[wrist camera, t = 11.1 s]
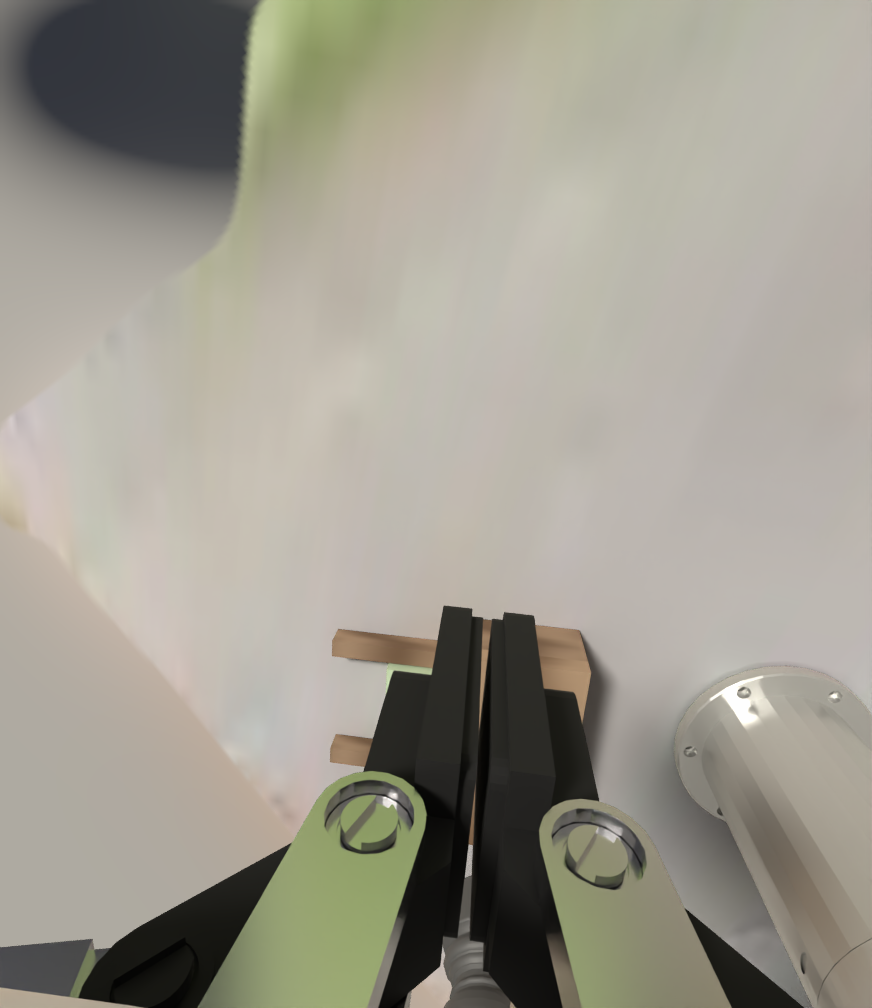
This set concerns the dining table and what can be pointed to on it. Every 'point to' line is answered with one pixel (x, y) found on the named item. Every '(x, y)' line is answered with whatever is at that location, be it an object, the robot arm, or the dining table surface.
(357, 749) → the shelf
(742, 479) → the dining table surface
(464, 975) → the candle holder
